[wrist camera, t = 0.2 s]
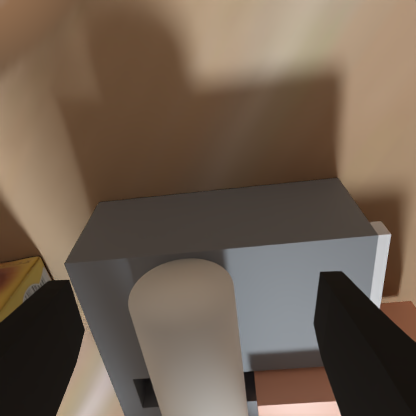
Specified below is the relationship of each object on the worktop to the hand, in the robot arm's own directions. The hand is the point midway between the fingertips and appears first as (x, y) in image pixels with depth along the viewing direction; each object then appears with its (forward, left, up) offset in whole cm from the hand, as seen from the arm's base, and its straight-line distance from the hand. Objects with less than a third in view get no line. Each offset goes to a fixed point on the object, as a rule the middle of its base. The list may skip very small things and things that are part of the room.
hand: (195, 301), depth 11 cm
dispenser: (-11, -1, -10) cm, 15 cm away
